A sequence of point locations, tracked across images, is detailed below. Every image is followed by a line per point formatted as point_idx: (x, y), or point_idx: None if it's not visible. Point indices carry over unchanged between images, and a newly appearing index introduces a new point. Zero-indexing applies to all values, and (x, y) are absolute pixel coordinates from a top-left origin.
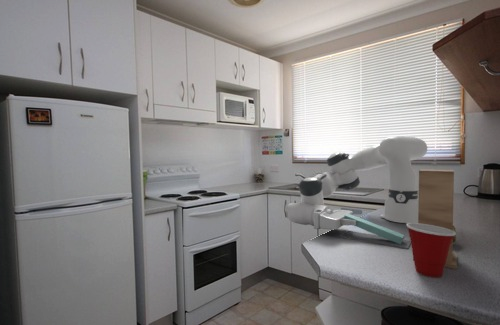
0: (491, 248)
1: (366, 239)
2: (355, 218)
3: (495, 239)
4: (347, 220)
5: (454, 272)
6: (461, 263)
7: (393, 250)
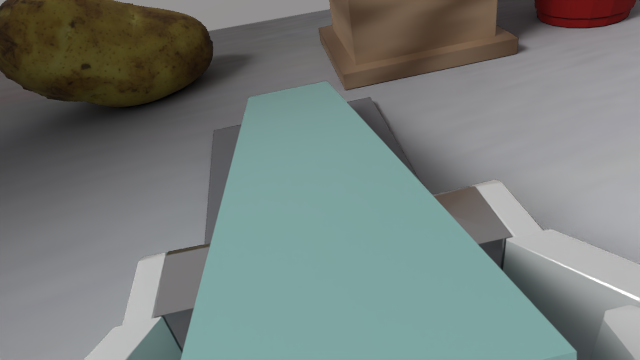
0: None
1: None
2: (371, 215)
3: None
4: (624, 271)
5: None
6: None
7: (463, 117)
